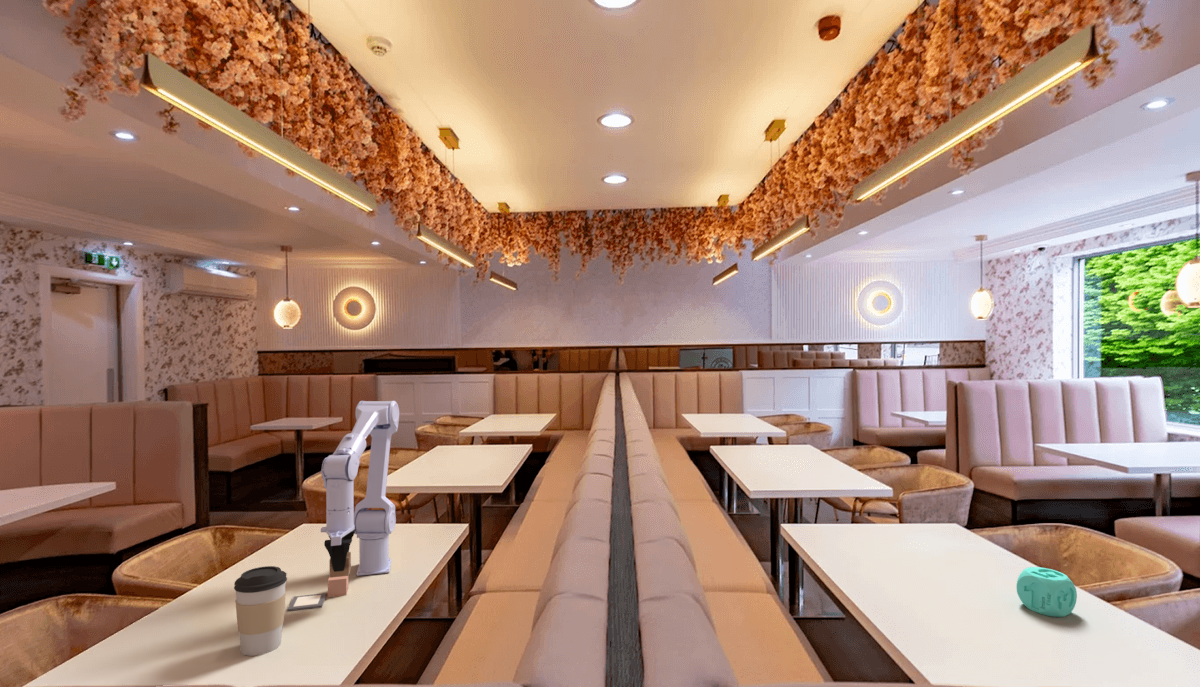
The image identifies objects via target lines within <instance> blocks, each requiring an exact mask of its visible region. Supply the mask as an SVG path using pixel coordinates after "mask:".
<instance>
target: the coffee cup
mask: <svg viewBox="0 0 1200 687" xmlns="http://www.w3.org/2000/svg"><path fill="white" fill-rule="evenodd" d="M287 580H288V577H287V573H286V572H285V571H283V570H282V569H281V568H280V567H279V566H275V565H274V566H272V565H270V566H269V565H267V566H259V567H254V568H252V569H248V570H246V571H244V572H243V573H241V575H240V576H239V577H238V578H236V579H235V581H234V582H233V583H234V586H233V589H234V591H235V601H234V602H235V610H236V611H235V613H236V623H237V624H236V625H237V632H238V635H239V645H240V646H239V647H240V653H241V654H242V655H243V656H253V657H254V656H260V655H264V654H267V653H271V652H272V651H275V650H277V648H279V647H280V646H281V645H282V644H281V643H282V637H283V636H282V635H283V634H282V633H283V624H284V620H285V605H286V604H285V603H286V593H287V591H286V583H287Z"/></svg>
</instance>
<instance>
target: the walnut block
mask: <svg viewBox="0 0 1200 687" xmlns="http://www.w3.org/2000/svg"><path fill="white" fill-rule="evenodd" d="M351 570H352V552H351V551H349V552H347V557H346V564H345V568H344V571H337V572H334V570H333V567H332V563H331V558H329V577H330V578H332V577H341V576H348V577H349V576H350V573H351Z"/></svg>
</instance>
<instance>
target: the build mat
mask: <svg viewBox="0 0 1200 687" xmlns="http://www.w3.org/2000/svg"><path fill="white" fill-rule="evenodd" d="M327 596H328V592H324V593H323V592H322V593H314V594H304V595H298V596H296V595H295V596H293V597H292V600H291V601H290V602H289V605H288V608H287V609H286V610H287V612H293V611H301V610H308V609H310V610H311V609H319V608H322V607H323V604H324V602H325V600H326V598H327Z"/></svg>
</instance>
